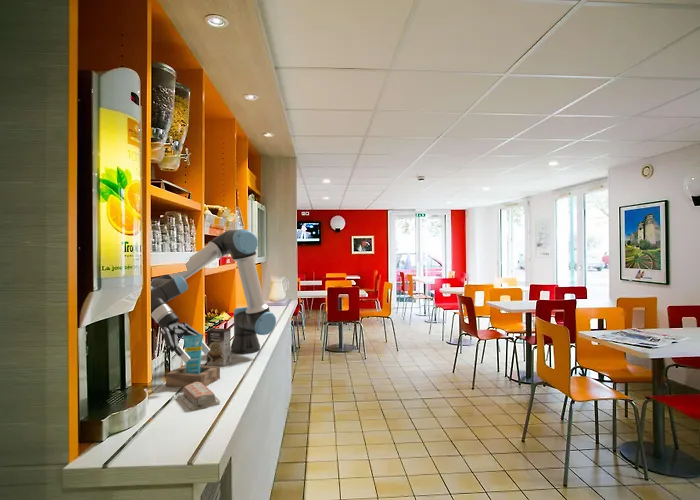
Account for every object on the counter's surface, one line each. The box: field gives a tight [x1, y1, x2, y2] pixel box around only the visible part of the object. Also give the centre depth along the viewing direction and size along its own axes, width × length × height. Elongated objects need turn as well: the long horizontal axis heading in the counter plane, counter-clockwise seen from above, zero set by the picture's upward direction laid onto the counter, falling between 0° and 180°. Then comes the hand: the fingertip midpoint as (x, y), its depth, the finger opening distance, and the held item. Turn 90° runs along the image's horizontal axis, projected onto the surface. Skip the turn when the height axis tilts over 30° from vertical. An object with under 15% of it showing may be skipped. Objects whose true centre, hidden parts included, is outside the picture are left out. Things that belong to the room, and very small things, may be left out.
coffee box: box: [206, 327, 232, 367], centre depth 195 cm, size 9×6×16 cm
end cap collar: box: [165, 364, 221, 389], centre depth 167 cm, size 14×16×5 cm
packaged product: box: [177, 382, 221, 411], centre depth 148 cm, size 18×5×10 cm
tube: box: [182, 333, 204, 374], centre depth 167 cm, size 7×5×19 cm, turn 121°
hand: (198, 356), depth 167 cm, fingers open, 13 cm apart
